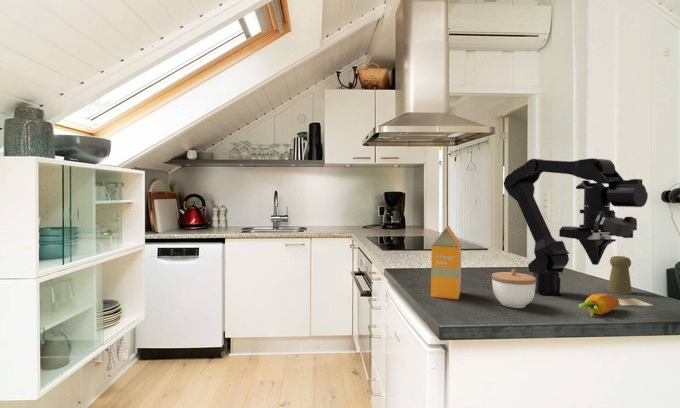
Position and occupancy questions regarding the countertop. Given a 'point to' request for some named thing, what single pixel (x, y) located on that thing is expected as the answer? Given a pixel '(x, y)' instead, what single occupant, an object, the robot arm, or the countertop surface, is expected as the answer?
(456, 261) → the orange juice
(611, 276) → the cork
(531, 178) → the robot arm
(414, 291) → the countertop surface
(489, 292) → the countertop surface
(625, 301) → the beige rectangular sheet
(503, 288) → the lidded jar
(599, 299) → the carrot
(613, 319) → the countertop surface
